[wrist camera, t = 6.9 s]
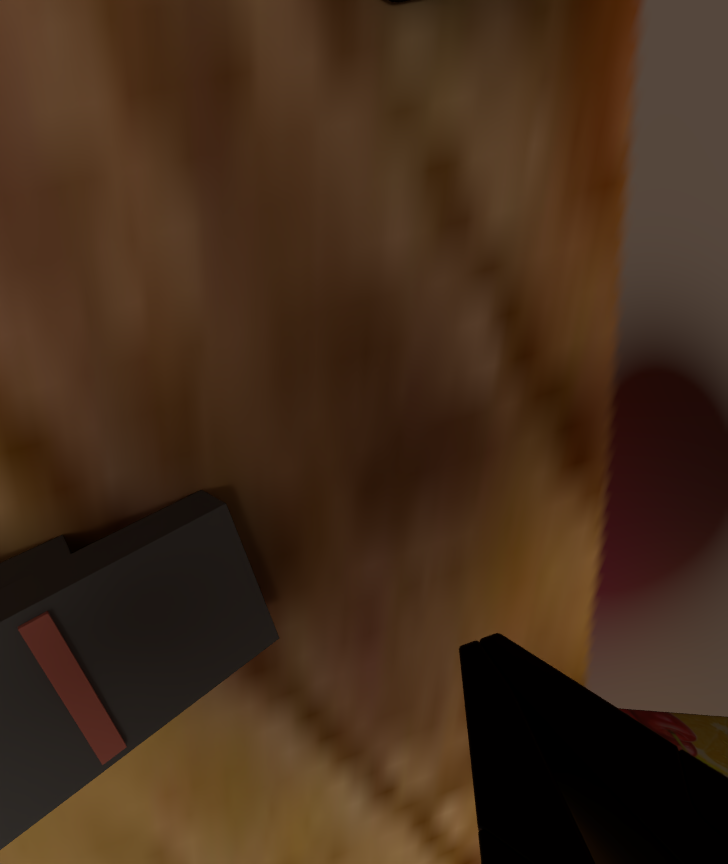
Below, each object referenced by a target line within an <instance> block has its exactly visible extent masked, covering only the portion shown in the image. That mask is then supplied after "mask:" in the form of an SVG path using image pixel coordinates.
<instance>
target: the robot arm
mask: <svg viewBox="0 0 728 864" xmlns="http://www.w3.org/2000/svg"><path fill="white" fill-rule="evenodd" d="M389 1H391V2H403V1H408V0H389ZM459 654H460V663H461V673H462V682H463V692H464V701H465V711H466V720H467V729H468V739H469V748H470V758H471V767H472V777H473V786H474V796H475V805H476V815H477V824H478V829H479V832H478V836H479V845H480V855H481V864H728V777H726V776H725V775H723V774H721V773H720V772H718V771H717V770H715V769H713V768H712V767H710V766H708V765H707V764H705V763H704V762H702V761H700V760H699V759H697V758H696V757H694V756H693V755H691V754H689V753H688V752H686V751H685V750H683V749H681V750H680V751H679V749H678V747H677V746H676V745H675V744H673V743H672V742H670V741H669V740H667V739H665V738H664V737H662V736H661V735H659V734H658V733H656V732H654V731H653V730H651V729H650V728H648V727H647V726H645V725H643V724H642V723H640V722H639V721H637V720H636V719H634V718H632V717H631V716H629V715H628V714H626V713H625V712H623V711H621V710H620V709H618V708H617V707H615V706H613V705H612V704H610V703H609V702H607V701H606V700H604V699H602V698H601V697H599V696H598V695H596V694H594V693H593V692H591V691H590V690H588V689H587V688H585V687H584V686H582V685H580V684H579V683H577V682H576V681H574V680H573V679H571V678H569V677H568V676H566V675H565V674H563V673H562V672H560V671H558V670H557V669H555V668H554V667H552V666H550V665H549V664H547V663H546V662H544V661H543V660H541V659H539V658H538V657H536V656H535V655H533V654H532V653H530V652H528V651H527V650H525V649H524V648H522V647H521V646H519V645H517V644H516V643H514V642H513V641H511V640H510V639H508V638H506V637H505V636H503V635H502V634H499V633H495V634H493V635H490V636H487V637H484V638H482V639H481V640H480V642H479V641H473V642H470V643H467V644H464V645H462V646H460V648H459Z"/></svg>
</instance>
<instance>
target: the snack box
mask: <svg viewBox="0 0 728 864" xmlns="http://www.w3.org/2000/svg"><path fill="white" fill-rule="evenodd" d="M618 709H619V708H618ZM620 710H621V711H623V712H625V713H626V714H628V715H629V716H631V717H632V718H634V719H636V720H637V721H639V722H640V723H642V724H643V725H645V726H647V727H648V728H650V729H651V730H653V731H654V732H656V733H658V734H659V735H661V736H662V737H664V738H665V739H667V740H669V741H670V742H672V743H673V744H675V745H676V746H677V747H678V749H679V751H680V750H681V749H683V750H685V751H686V752H688V753H689V754H691V755H693V756H694V757H696V758H697V759H699V760H700V761H702V762H704V763H705V764H707V765H708V766H710V767H712V768H713V769H715V770H717V771H718V772H720V773H721V774H723V775H725V776H726V777H728V717H722V716H708V715H696V714H683V713H669V712H657V711H644V710H631V709H620Z"/></svg>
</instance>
